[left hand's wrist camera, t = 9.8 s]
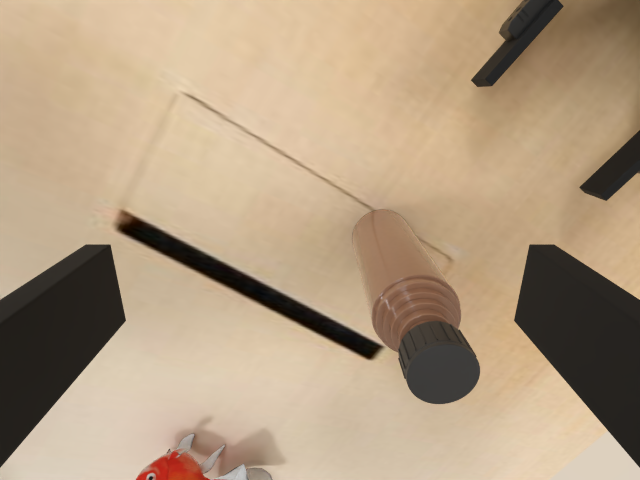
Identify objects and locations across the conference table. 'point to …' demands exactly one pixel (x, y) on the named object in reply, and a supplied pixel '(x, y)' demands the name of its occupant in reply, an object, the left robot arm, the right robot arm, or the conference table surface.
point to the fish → (194, 467)
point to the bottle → (400, 278)
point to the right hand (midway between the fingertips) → (539, 141)
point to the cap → (438, 362)
